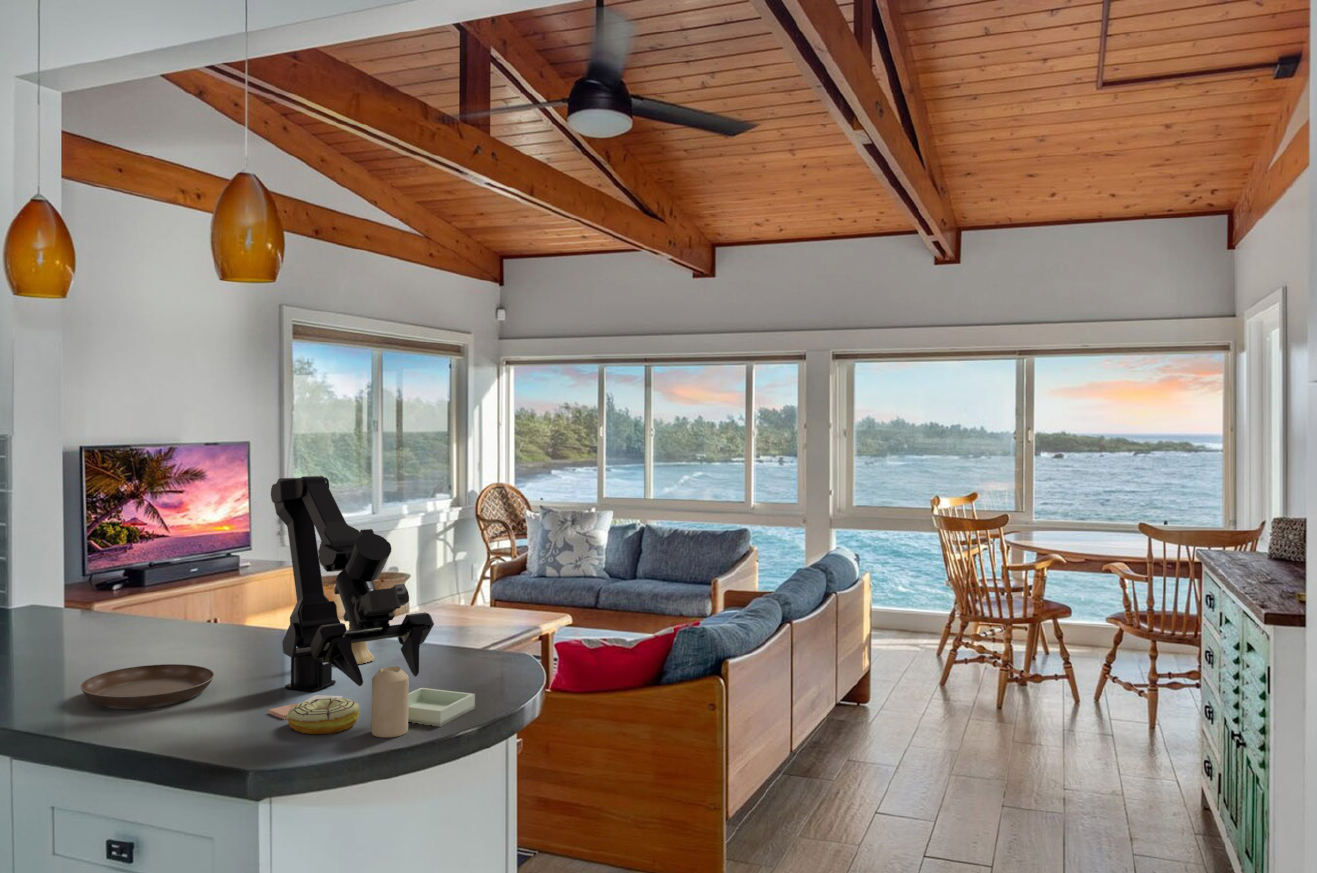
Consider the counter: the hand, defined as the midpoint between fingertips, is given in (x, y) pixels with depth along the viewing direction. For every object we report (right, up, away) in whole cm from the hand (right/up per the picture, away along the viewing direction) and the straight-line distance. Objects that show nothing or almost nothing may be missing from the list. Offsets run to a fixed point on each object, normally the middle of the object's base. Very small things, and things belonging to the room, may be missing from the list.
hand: (389, 679), depth 148 cm
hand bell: (-20, -8, +45) cm, 50 cm away
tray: (+4, -8, +10) cm, 13 cm away
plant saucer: (-47, -8, +19) cm, 51 cm away
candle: (0, -8, 0) cm, 8 cm away
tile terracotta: (-19, -8, +9) cm, 23 cm away
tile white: (-16, -8, +15) cm, 23 cm away
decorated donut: (-11, -8, +3) cm, 14 cm away
